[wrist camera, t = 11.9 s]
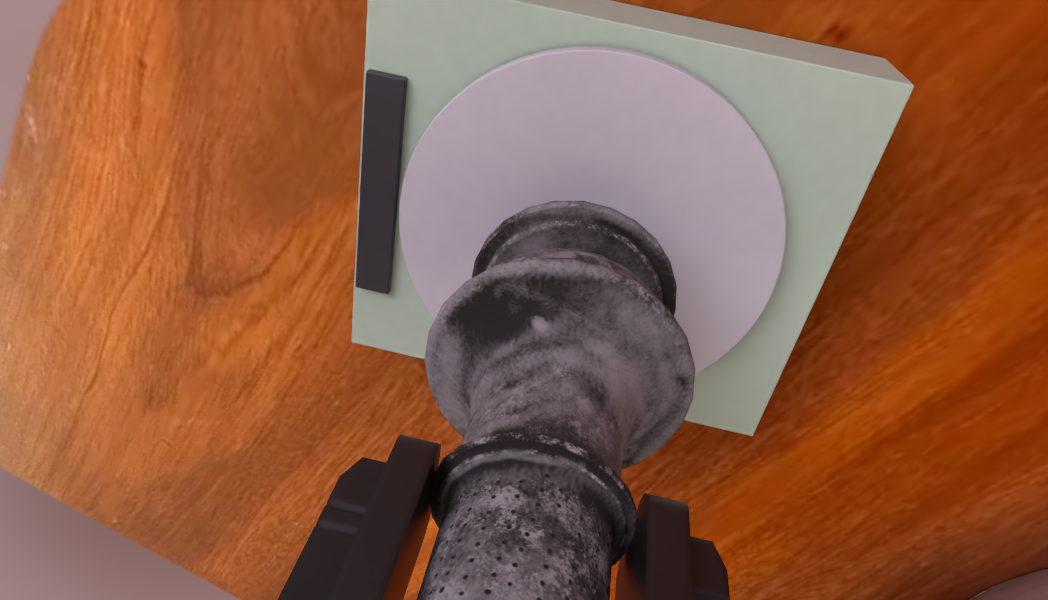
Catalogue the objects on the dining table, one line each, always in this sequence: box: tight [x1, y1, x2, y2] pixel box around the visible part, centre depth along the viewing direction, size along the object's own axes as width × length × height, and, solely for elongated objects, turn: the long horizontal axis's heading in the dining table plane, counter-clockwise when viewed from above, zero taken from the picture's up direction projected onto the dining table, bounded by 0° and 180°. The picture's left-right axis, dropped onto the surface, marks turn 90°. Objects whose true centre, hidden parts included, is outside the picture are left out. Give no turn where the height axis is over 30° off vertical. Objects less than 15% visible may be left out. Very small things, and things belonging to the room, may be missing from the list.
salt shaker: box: [417, 201, 695, 600], centre depth 14 cm, size 6×6×12 cm
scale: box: [351, 0, 914, 436], centre depth 22 cm, size 14×12×4 cm
